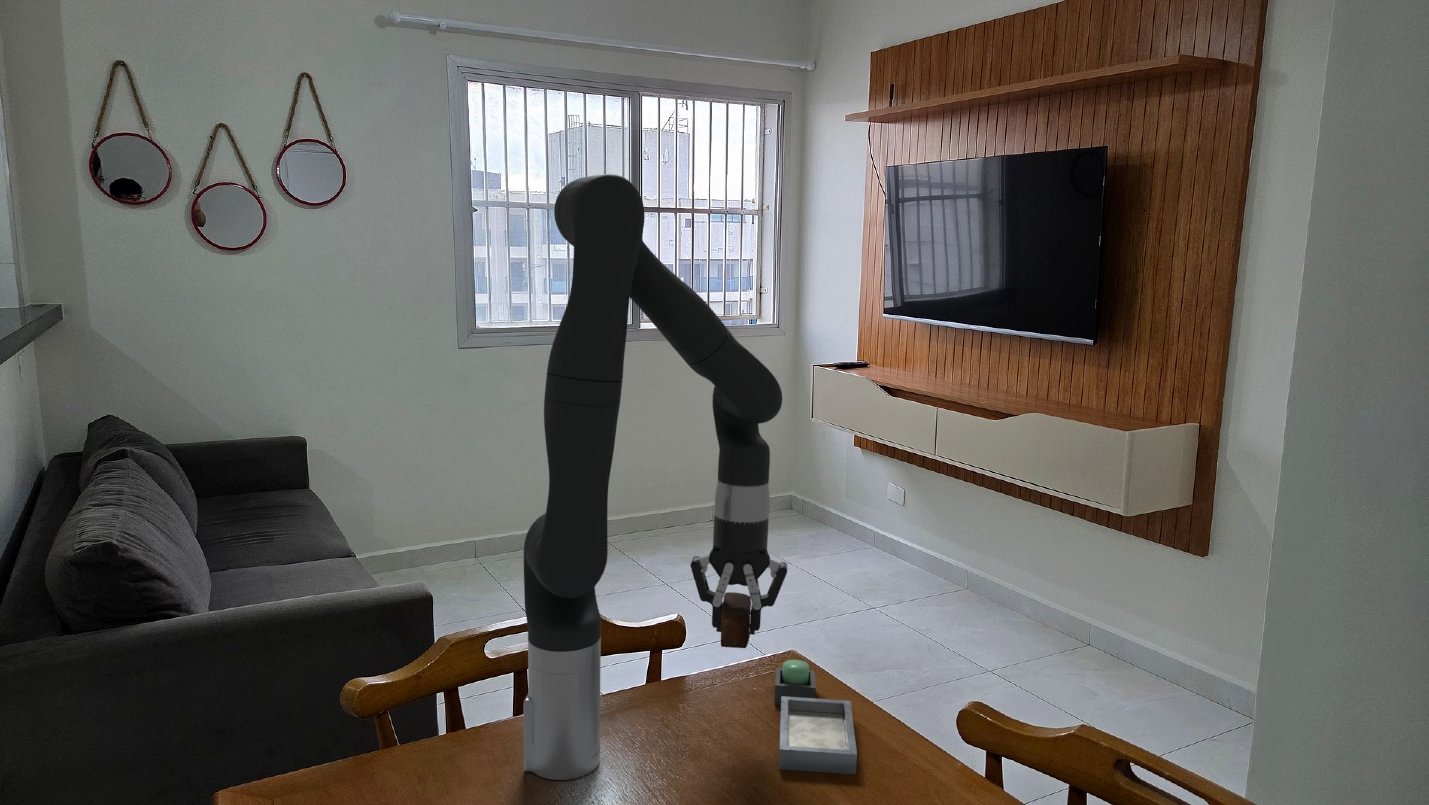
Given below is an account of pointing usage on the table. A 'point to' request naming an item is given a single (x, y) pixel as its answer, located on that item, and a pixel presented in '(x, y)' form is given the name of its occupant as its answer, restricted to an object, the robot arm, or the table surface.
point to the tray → (817, 735)
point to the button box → (793, 687)
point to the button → (795, 672)
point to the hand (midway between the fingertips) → (736, 630)
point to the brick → (735, 620)
